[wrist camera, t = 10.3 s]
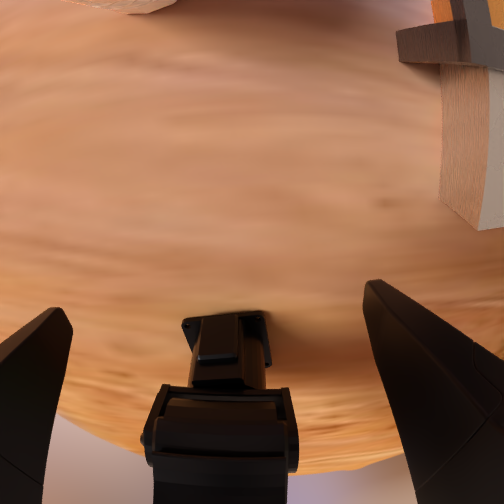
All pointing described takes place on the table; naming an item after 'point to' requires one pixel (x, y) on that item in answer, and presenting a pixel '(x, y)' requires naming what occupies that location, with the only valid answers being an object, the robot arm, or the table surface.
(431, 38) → the grey c-shaped bracket
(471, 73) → the grey rectangular bar
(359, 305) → the table surface
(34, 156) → the table surface
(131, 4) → the white cup
